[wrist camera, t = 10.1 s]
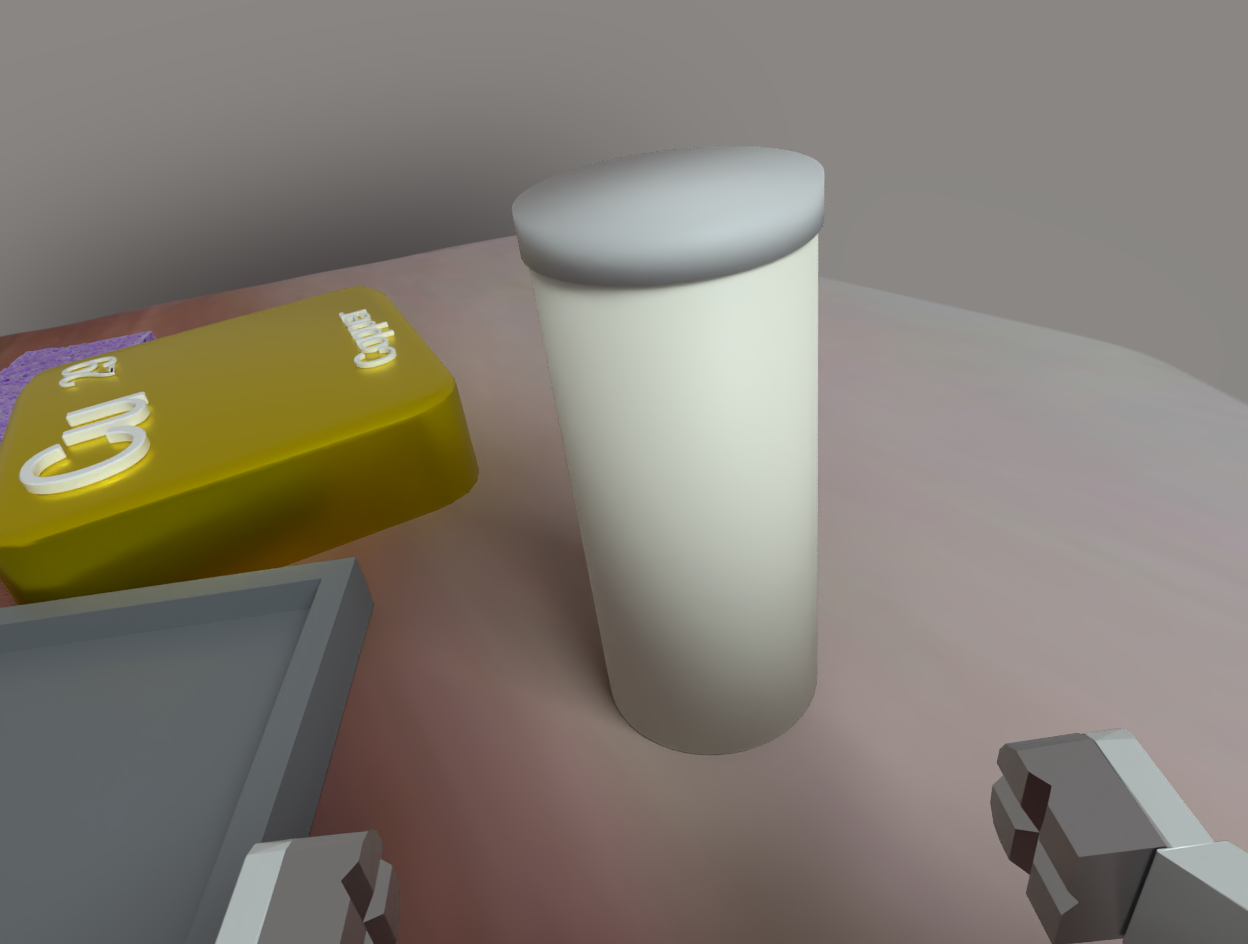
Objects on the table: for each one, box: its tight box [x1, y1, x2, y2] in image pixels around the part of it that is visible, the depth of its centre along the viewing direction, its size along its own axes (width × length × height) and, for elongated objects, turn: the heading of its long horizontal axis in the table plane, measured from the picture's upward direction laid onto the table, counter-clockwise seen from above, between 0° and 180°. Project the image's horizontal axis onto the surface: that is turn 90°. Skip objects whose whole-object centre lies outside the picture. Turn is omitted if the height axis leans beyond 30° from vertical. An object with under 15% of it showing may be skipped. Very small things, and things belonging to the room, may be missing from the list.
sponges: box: [0, 331, 156, 445], centre depth 40 cm, size 7×13×2 cm, turn 5°
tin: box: [512, 146, 824, 755], centre depth 18 cm, size 5×5×12 cm
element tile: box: [0, 286, 479, 605], centre depth 32 cm, size 15×15×5 cm
